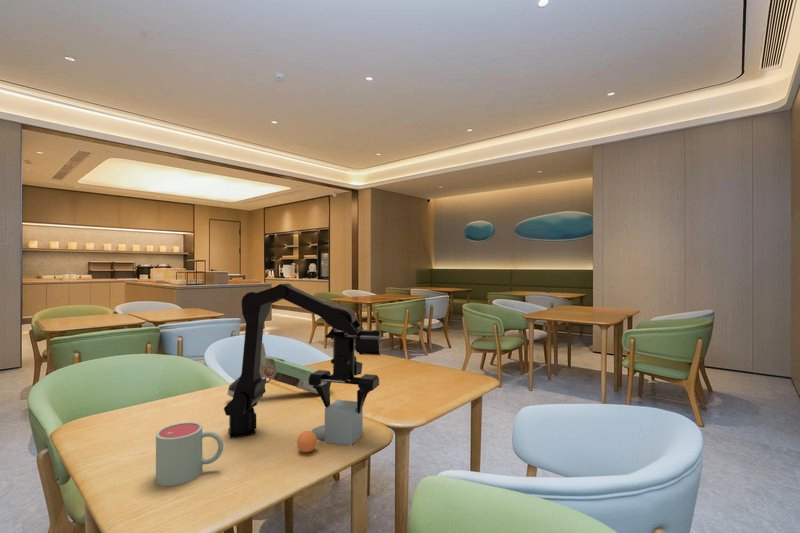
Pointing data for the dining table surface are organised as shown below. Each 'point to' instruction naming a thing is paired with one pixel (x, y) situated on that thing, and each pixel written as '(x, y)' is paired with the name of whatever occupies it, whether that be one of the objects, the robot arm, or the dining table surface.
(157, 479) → the mug
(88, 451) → the dining table surface
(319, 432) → the circle
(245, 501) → the dining table surface
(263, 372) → the ray gun
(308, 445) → the ball
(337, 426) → the gray-blue matte cube
